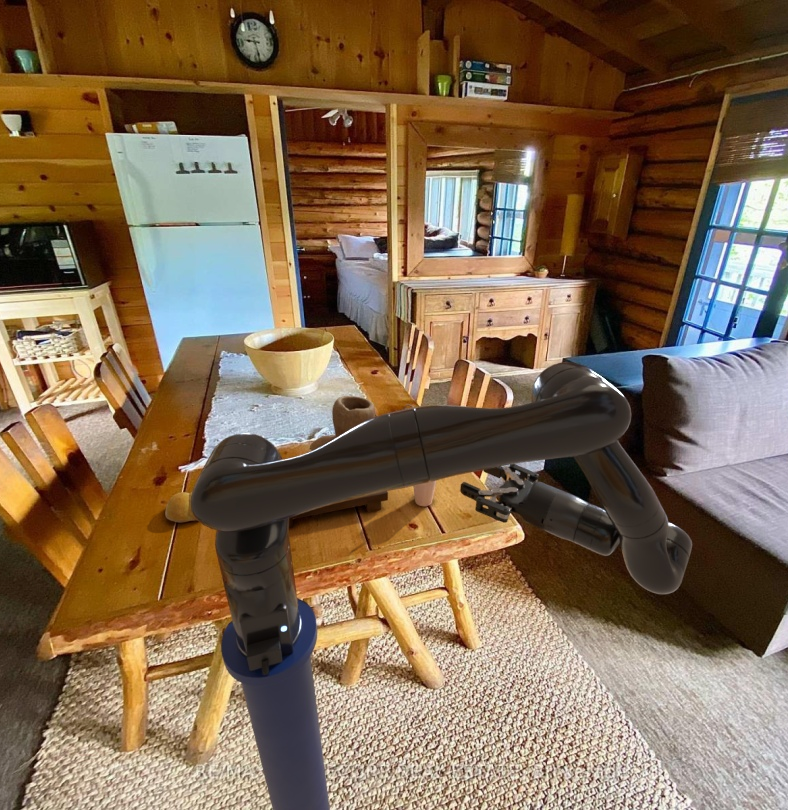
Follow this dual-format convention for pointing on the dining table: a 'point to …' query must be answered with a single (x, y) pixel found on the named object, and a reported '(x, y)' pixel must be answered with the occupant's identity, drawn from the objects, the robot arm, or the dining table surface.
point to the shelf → (348, 505)
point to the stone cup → (346, 417)
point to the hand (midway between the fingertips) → (473, 476)
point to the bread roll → (180, 508)
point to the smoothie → (424, 493)
